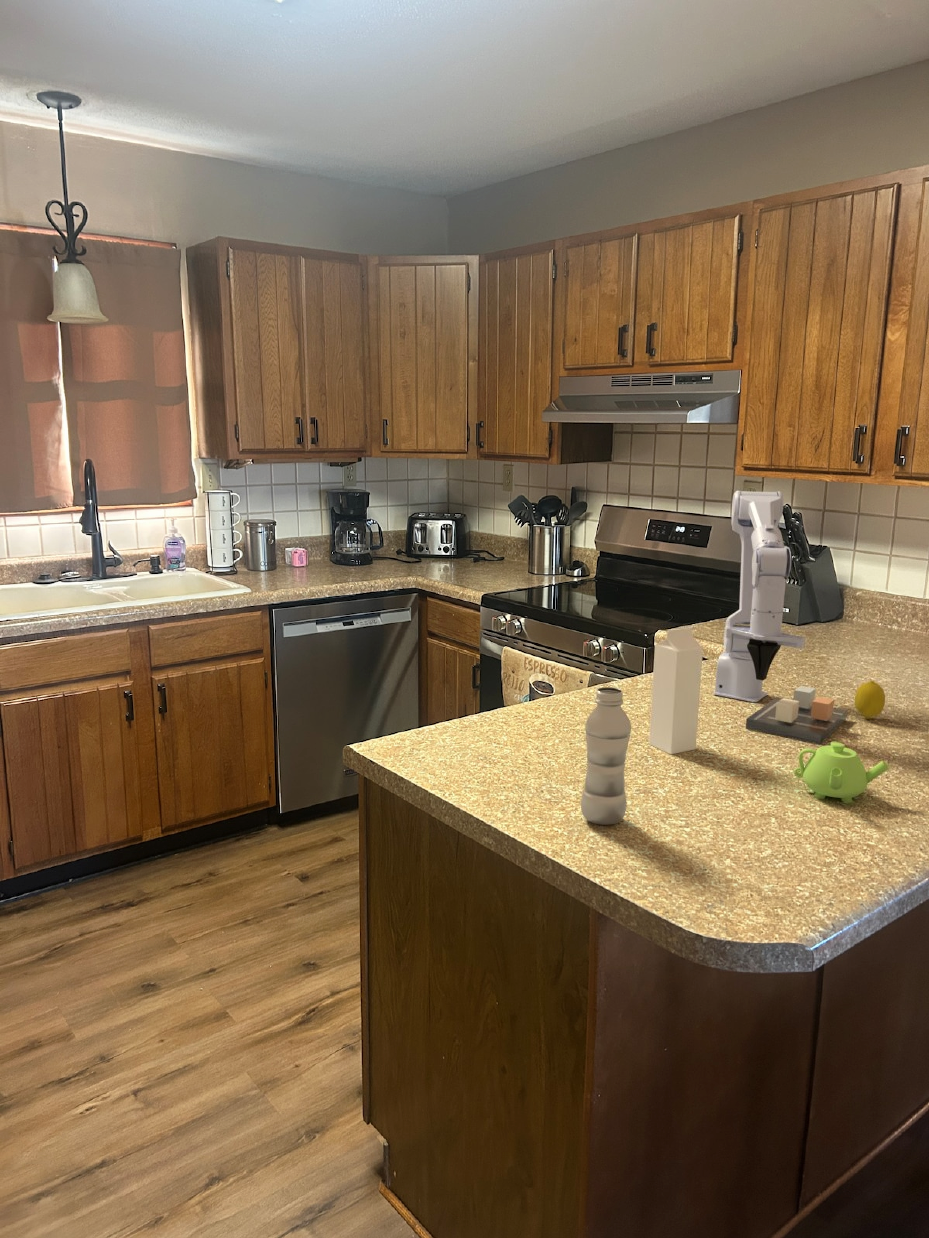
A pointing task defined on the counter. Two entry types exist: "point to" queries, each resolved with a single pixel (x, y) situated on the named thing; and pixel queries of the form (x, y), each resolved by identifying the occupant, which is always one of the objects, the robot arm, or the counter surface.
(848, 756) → the teapot
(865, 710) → the lemon
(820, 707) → the block
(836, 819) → the counter surface
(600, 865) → the counter surface
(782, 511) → the robot arm
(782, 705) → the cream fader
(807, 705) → the block
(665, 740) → the milk
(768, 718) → the panel
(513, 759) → the counter surface
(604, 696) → the plastic bottle
